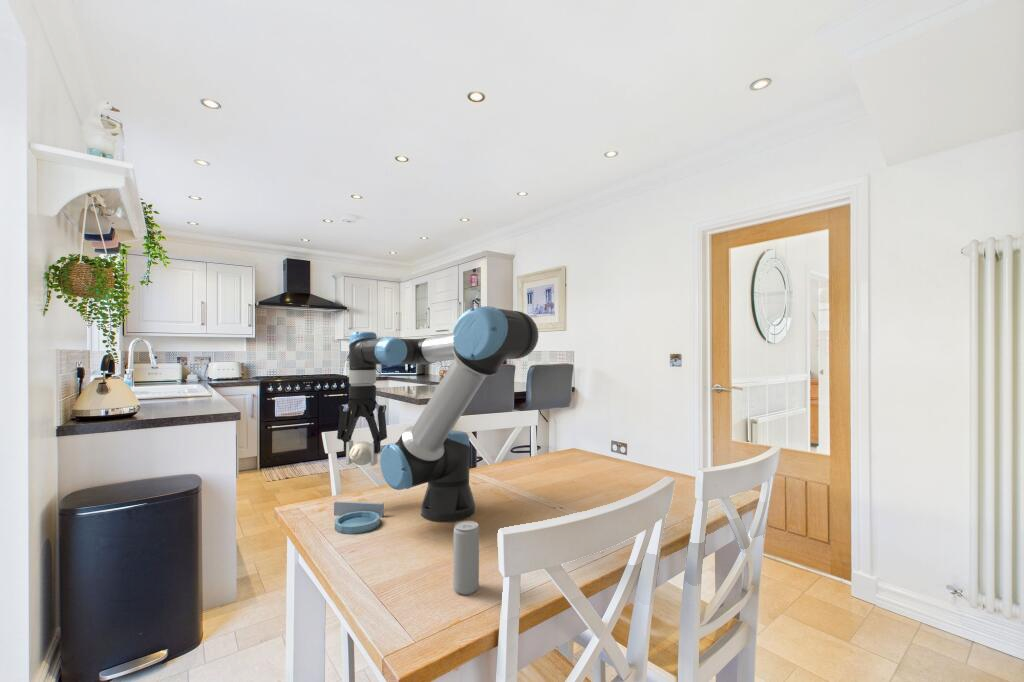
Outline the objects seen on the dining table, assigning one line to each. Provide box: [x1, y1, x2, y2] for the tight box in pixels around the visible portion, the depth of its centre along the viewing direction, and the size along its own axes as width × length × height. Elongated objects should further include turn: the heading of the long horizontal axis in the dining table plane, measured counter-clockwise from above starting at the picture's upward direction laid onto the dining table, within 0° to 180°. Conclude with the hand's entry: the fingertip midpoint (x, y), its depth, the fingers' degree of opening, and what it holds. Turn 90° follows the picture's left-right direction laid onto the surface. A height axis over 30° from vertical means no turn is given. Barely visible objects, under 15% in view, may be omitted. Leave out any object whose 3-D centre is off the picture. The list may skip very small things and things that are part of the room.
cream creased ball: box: [349, 440, 372, 466], centre depth 128 cm, size 7×7×7 cm
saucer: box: [334, 511, 381, 535], centre depth 115 cm, size 11×11×2 cm
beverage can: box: [452, 520, 480, 596], centre depth 84 cm, size 5×5×12 cm
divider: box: [333, 500, 385, 518], centre depth 123 cm, size 14×1×4 cm, turn 83°
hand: (361, 464), depth 128 cm, fingers closed on cream creased ball, 7 cm apart
